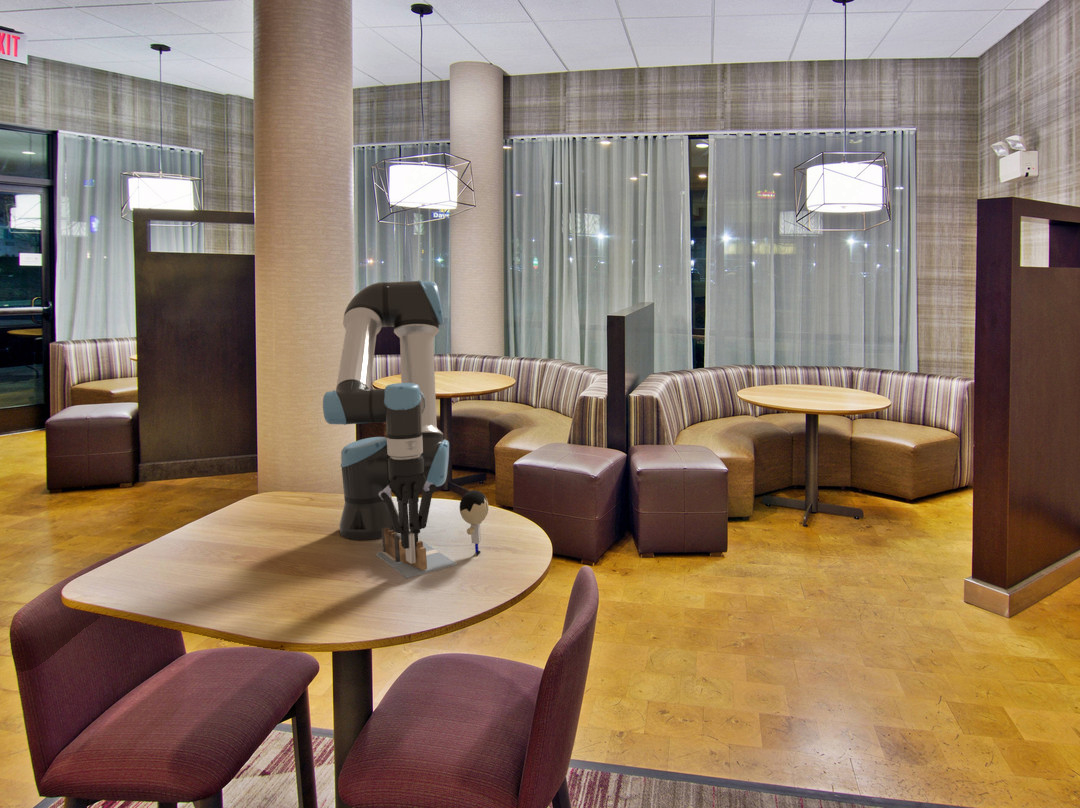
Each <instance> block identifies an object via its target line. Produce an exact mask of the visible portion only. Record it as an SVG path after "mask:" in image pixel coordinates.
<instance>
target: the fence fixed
mask: <svg viewBox="0 0 1080 808" xmlns="http://www.w3.org/2000/svg"><path fill="white" fill-rule="evenodd" d="M381 530H382V538H381V539H382V540H381V541H382V552H386V553H387V554H389V555H390V556H391V557H393V558H394V559H395V560H396V562H401V561H400V550H399V540H401V534H400V533H399V534H398V533H396V532H394V533H393V530H390V528H388V527H384V528H382V529H381Z"/></svg>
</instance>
